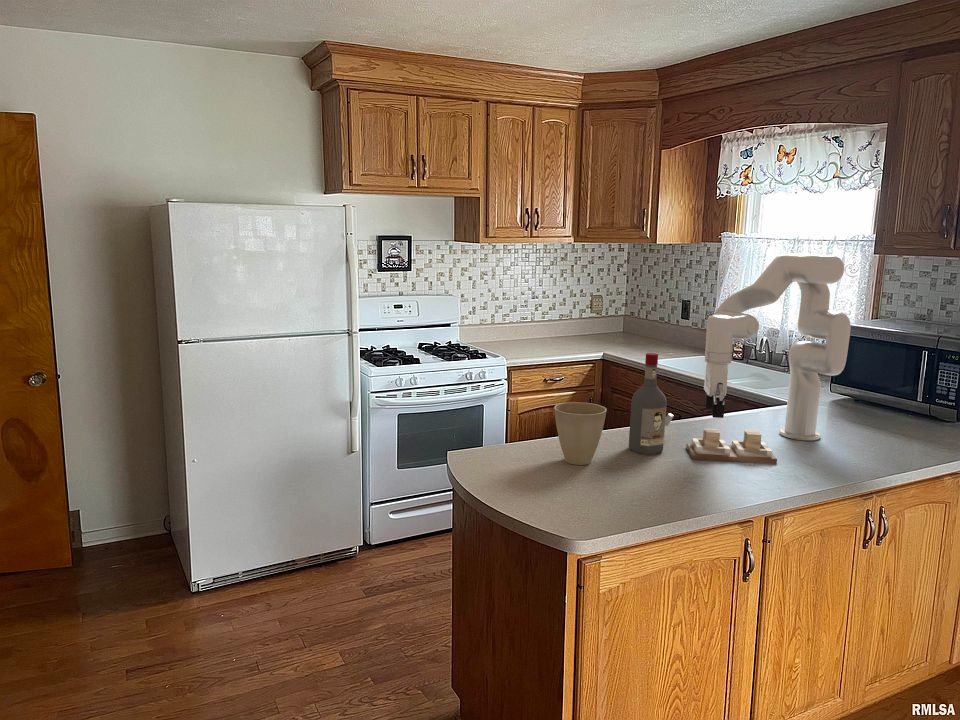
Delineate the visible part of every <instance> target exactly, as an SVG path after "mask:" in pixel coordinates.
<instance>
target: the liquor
mask: <svg viewBox="0 0 960 720" xmlns="http://www.w3.org/2000/svg"><path fill="white" fill-rule="evenodd" d="M658 360H659V353H654V352H647V353H645V364H644V365H645V368H644V369H645V370H644V380H643V383H642V386H640V387H639V388H638V389H637V390H636V391H635V392H634V393H633V395H632V398H631V403H630V416H629V417H630V418H629V419H630V420H629V431H628V432H629V435H628V449H629V450H630V451H632V452H634V453H637V454H639V455H644V456H651V455H657V454H662V452H663V449H664V446H665V445H664V443H665V435H664V431H665V432H666V426H665V418H666V417H667V413H666V412H667V397H666V395H665V393H663V391H662V390H661V389H660V388H659V386H658V383H657V370H658V364H659V361H658Z"/></svg>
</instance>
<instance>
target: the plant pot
mask: <svg viewBox="0 0 960 720" xmlns="http://www.w3.org/2000/svg"><path fill="white" fill-rule="evenodd" d="M607 410H608V409H607V407H605V406H602V405H601V404H600V405H599V404H596V403H590V402H580V401H579V402H571V401H569V402H561V403H558V404H556V405H554V416H555V425H556V431H557V435H558V436H557V437H558V439H559V444H560V448H561V452H562V454H563V458H564V460H565V462H566V463H568V464H571V465H576V466H585V465H589V464H591V462H592V460H593V458H594V457H595V453H596V451H597V448H598V446H599V443H600V439H601V436H602V433H603V430H604V425H605V421H606V415H607Z"/></svg>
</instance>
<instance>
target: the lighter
mask: <svg viewBox="0 0 960 720" xmlns="http://www.w3.org/2000/svg"><path fill="white" fill-rule="evenodd" d="M673 418H674V414H672V412H670V413H667V414H666V417H665V427H668V426H670V423H672V420H673ZM665 432H666V430H665V431H664V436H666V435H665Z"/></svg>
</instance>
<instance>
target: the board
mask: <svg viewBox="0 0 960 720" xmlns="http://www.w3.org/2000/svg"><path fill="white" fill-rule="evenodd" d="M702 442H703V438H697V437H696V438H695V437H692V438H691V442H686V447H687V448H686V449H688V450H687V451H688V453H689V455H690V456H691V458H693V459H692V461H693V460H694V461H695V460H696V461H709V462H711V461H712V462H714V461H715V462H728V463H729V462H730V463H753V464H769V465H772V464H773V465H777V464H778V458H777V456H776V455H774V454H773V450H772V449H771V448H770V447H769V446H768V445H767V444H766V442H765V441H762V433H761V432H760V431H759V430H744V431H743V440H741V439H740V440H739V439H737V440H736V439H732V440H731V444H727V442H726V440H725V439H719V447H711V446H702Z"/></svg>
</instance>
